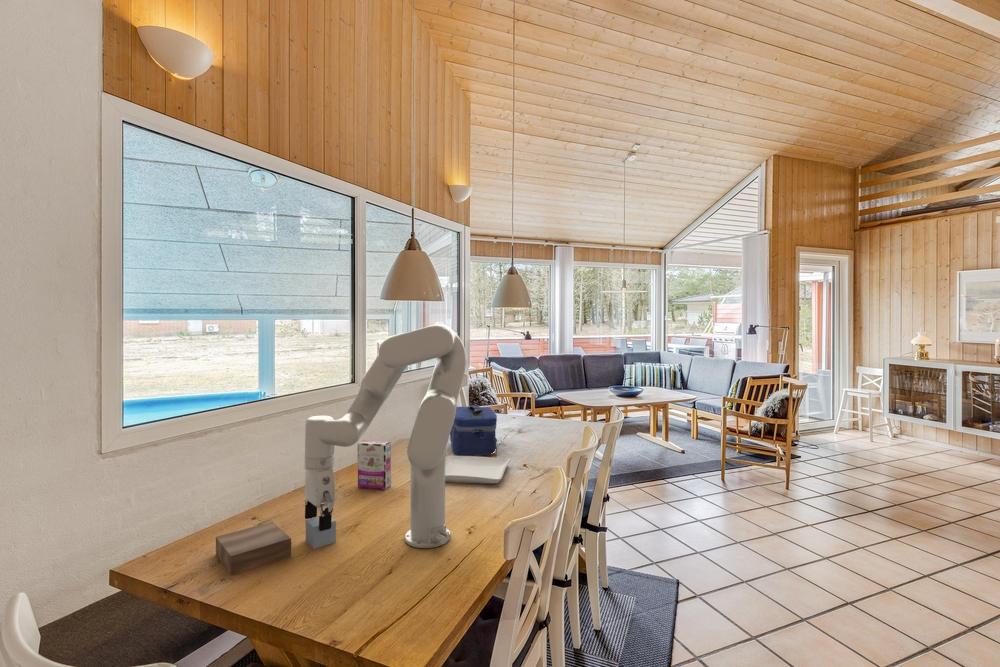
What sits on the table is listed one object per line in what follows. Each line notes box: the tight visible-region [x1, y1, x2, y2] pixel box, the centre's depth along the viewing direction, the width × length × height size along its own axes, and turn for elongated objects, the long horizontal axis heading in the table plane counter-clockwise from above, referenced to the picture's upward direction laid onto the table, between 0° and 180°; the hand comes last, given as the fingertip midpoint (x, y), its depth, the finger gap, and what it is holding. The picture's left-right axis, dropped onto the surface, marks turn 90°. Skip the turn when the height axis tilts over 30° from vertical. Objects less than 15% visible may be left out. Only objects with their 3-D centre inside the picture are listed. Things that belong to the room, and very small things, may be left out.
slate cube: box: [305, 515, 337, 550], centre depth 134 cm, size 6×6×6 cm
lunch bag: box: [449, 404, 498, 456], centre depth 231 cm, size 31×21×20 cm
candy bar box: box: [357, 440, 392, 491], centre depth 178 cm, size 11×5×16 cm, turn 76°
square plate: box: [445, 455, 511, 485], centre depth 193 cm, size 27×27×4 cm
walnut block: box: [215, 521, 292, 576], centre depth 126 cm, size 14×14×5 cm
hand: (317, 523), depth 134 cm, fingers open, 9 cm apart
